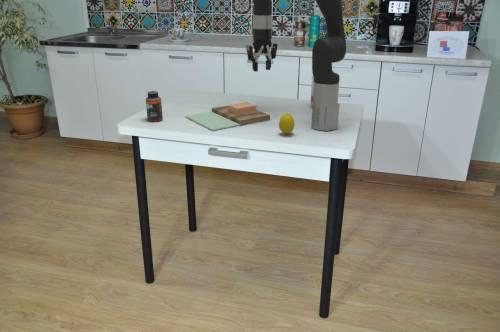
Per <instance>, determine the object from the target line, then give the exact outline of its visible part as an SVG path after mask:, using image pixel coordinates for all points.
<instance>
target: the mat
mask: <svg viewBox="0 0 500 332" xmlns="http://www.w3.org/2000/svg"><path fill="white" fill-rule="evenodd" d="M184 118H186V119H188V120H189V121H192V122H193V123H196V124H197V125H199V126H201V127H203V128H205V129H207V130H209V131H211V132H216V131H221V130H225V129H231V128H237V127H241V126H240V124H238V123H236V122H233V121H231V120H229V119H227V118H224V117H222V116H220V115H218V114H216V113H213V112H212V111H206V112H200V113H195V114H188V115H184Z"/></svg>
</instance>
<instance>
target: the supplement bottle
mask: <svg viewBox="0 0 500 332" xmlns="http://www.w3.org/2000/svg"><path fill="white" fill-rule="evenodd" d="M145 107H146V119H147V121H148V122H151V123H152V122H153V123H157V122H161V121H162V120H163V119H164V118H163V105H162V98H161V97H160V96H159V91H157V90H150V91H147V97H146V98H145Z"/></svg>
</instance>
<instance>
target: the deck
mask: <svg viewBox="0 0 500 332" xmlns="http://www.w3.org/2000/svg"><path fill="white" fill-rule="evenodd" d="M228 105H229V104H228ZM228 105H223V106H222V105H221V106H216V107H211V112H213V113H216V114H218V115H220V116H222V117H224V118H227V119H229V120H231V121H233V122H236V123H238V124H240V126H239V127H241V126H247V125H252V124H256V123H262V122H268V121H271V114H268V113H265V112H263V111H260V110H257V109H256V112H251V113H245V114H240V115H237V114H234V113H232V112H230V111H228Z"/></svg>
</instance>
